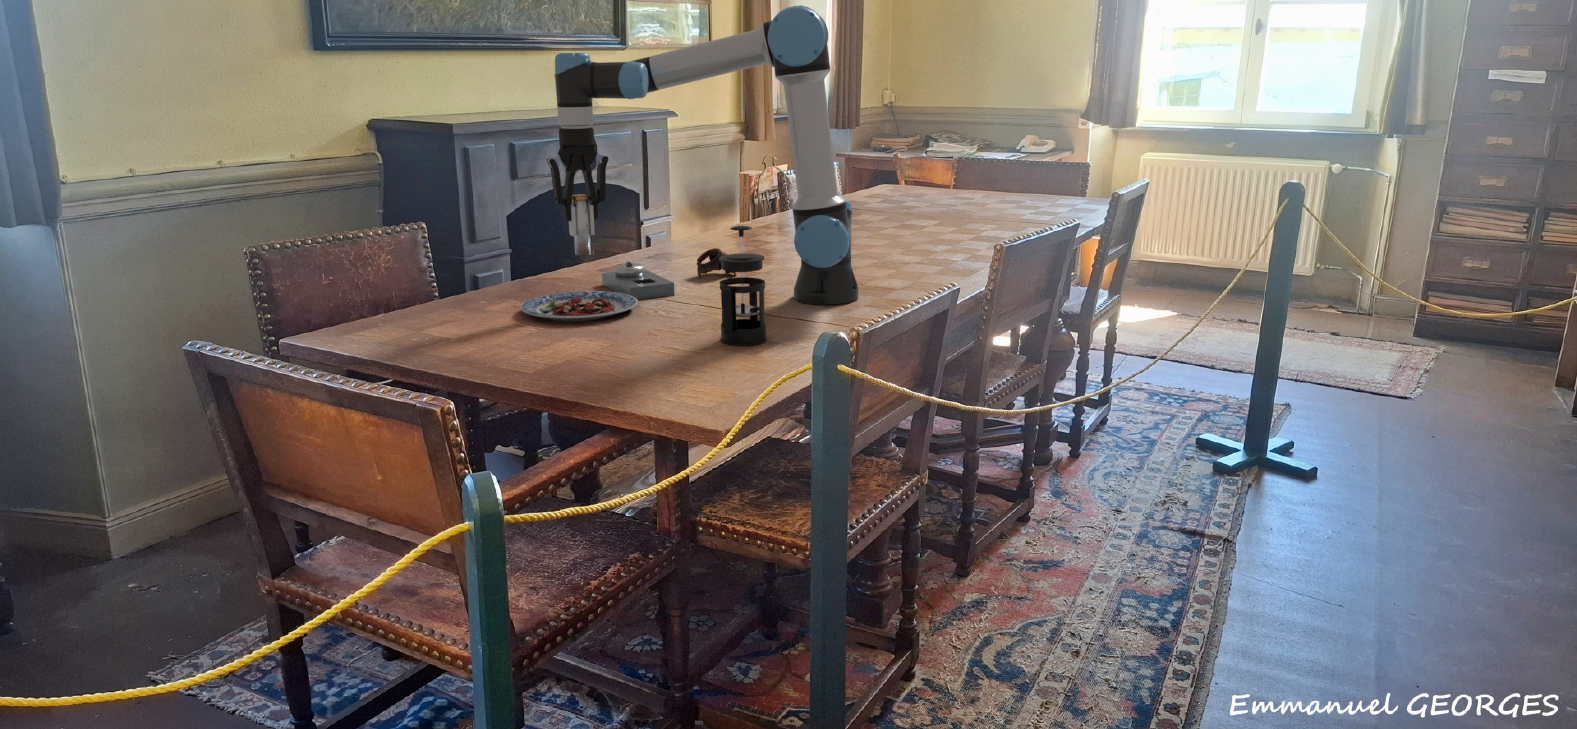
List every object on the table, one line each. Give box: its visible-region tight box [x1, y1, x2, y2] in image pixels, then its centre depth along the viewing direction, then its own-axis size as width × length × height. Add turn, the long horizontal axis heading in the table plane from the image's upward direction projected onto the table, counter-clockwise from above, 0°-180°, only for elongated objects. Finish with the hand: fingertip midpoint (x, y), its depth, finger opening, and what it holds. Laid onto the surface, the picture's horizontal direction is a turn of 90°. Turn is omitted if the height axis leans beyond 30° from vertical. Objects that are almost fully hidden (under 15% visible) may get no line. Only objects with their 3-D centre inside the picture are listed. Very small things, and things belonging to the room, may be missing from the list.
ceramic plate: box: [520, 290, 639, 322], centre depth 242 cm, size 26×26×3 cm
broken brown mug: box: [696, 247, 737, 278], centre depth 280 cm, size 12×10×8 cm
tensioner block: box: [601, 261, 675, 301], centre depth 263 cm, size 20×11×6 cm, turn 28°
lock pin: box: [571, 193, 592, 256], centre depth 240 cm, size 4×4×13 cm
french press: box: [719, 225, 768, 347], centre depth 214 cm, size 12×9×23 cm
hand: (582, 234), depth 241 cm, fingers closed on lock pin, 3 cm apart
